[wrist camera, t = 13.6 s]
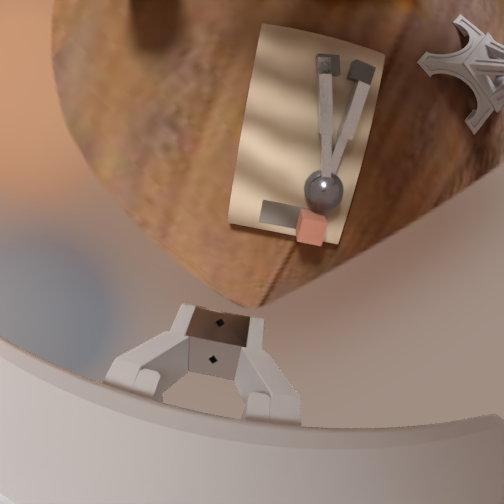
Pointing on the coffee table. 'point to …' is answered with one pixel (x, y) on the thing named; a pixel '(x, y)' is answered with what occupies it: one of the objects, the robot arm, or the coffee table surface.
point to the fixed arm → (348, 116)
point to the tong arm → (325, 135)
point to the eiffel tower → (473, 70)
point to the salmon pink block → (311, 227)
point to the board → (296, 130)
